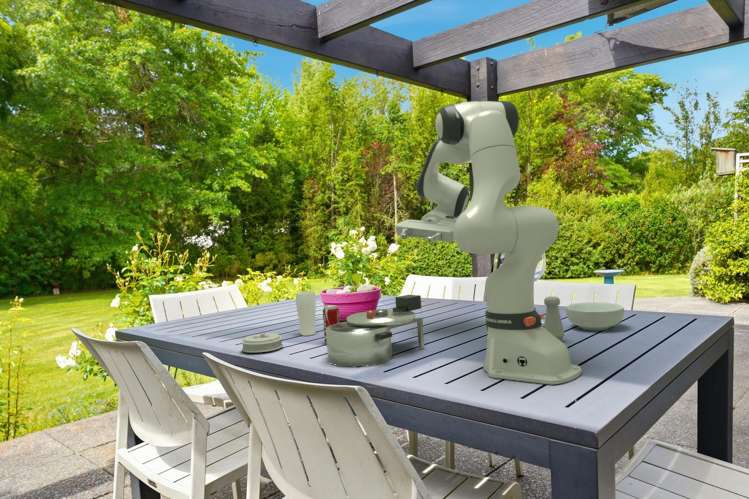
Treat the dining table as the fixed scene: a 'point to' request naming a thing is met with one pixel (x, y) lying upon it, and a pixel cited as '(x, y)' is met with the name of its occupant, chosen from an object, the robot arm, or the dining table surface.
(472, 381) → the dining table surface
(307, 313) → the drinking glass
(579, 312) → the cereal bowl
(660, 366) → the dining table surface
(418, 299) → the cooker lid
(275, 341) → the lid
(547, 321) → the salt shaker
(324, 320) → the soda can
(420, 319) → the cooker pot
